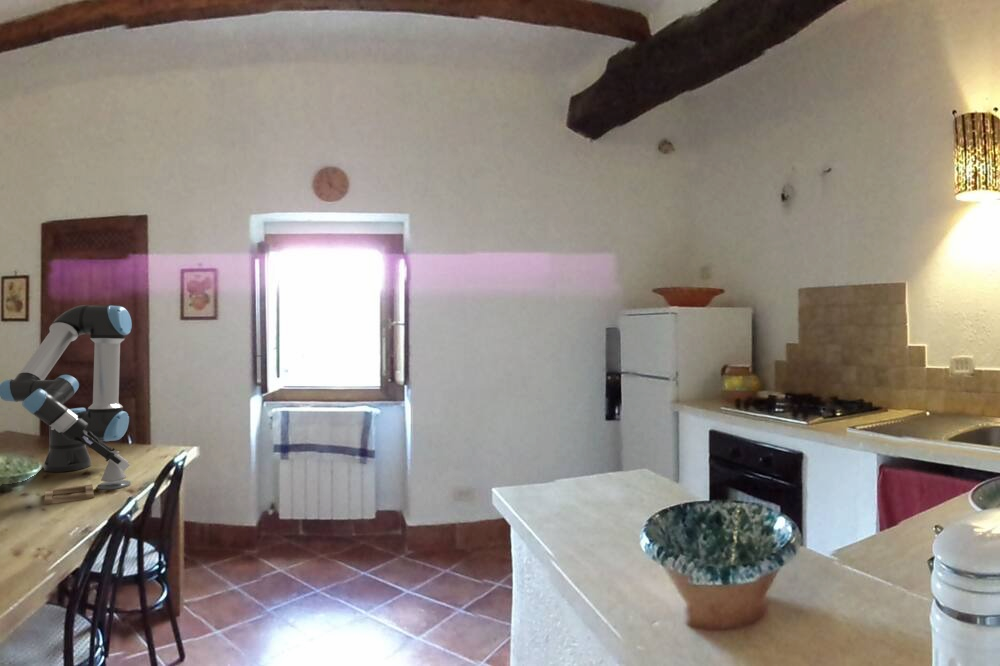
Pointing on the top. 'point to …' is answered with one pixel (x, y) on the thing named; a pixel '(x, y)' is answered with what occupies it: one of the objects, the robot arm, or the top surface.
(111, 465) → the flask
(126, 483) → the coaster
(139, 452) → the top surface
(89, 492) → the holder
